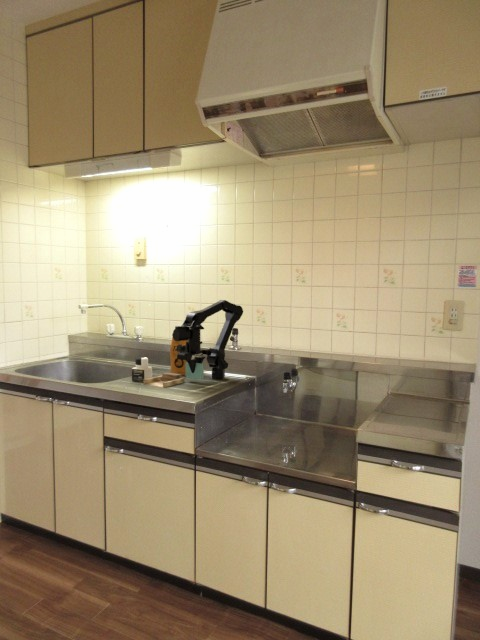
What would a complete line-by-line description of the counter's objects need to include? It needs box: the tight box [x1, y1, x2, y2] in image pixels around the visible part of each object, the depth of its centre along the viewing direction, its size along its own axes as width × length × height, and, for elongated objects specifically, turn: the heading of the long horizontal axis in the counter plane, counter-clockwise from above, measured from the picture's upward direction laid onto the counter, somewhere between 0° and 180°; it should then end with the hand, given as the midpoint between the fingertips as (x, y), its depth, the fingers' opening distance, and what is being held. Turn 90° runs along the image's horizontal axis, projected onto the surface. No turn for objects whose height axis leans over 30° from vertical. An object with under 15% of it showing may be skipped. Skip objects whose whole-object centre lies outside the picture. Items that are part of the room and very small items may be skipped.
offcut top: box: [161, 372, 182, 379], centre depth 220 cm, size 4×8×2 cm, turn 60°
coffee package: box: [169, 333, 188, 377], centre depth 239 cm, size 10×12×22 cm
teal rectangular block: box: [185, 362, 205, 380], centre depth 218 cm, size 2×9×7 cm, turn 55°
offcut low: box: [161, 377, 180, 382], centre depth 220 cm, size 4×9×2 cm, turn 56°
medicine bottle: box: [131, 356, 153, 383], centre depth 223 cm, size 7×7×12 cm
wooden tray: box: [143, 375, 186, 388], centre depth 217 cm, size 14×13×3 cm
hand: (194, 372), depth 218 cm, fingers closed on teal rectangular block, 2 cm apart
